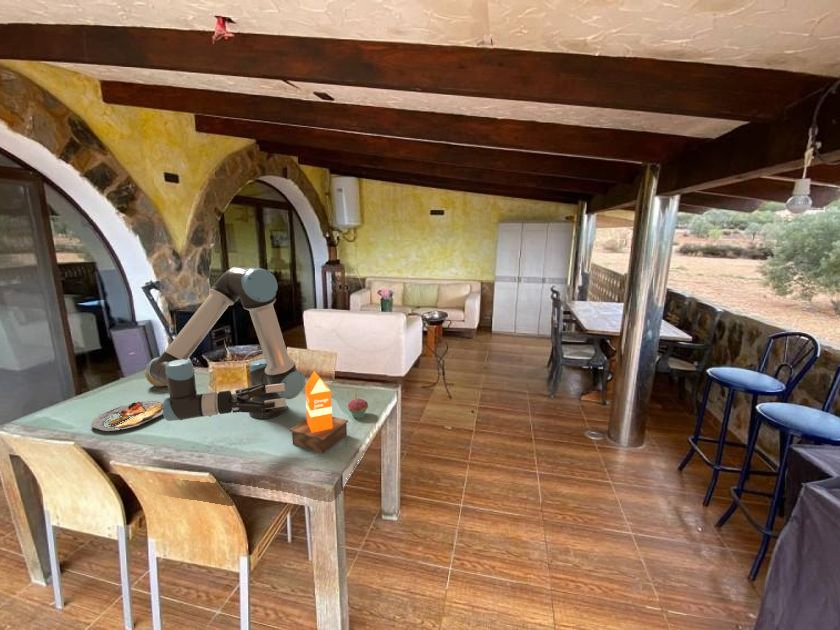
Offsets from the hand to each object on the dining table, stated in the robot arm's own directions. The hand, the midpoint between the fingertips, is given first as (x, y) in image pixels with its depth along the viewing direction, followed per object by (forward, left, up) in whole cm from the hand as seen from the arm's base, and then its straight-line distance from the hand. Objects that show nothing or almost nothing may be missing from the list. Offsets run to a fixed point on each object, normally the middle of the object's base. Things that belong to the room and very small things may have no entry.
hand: (285, 394), depth 136 cm
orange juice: (+8, +8, -14) cm, 18 cm away
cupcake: (+10, +30, -20) cm, 38 cm away
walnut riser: (+8, +8, -20) cm, 23 cm away
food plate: (-73, -13, -20) cm, 77 cm away
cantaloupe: (-96, +15, -20) cm, 99 cm away
